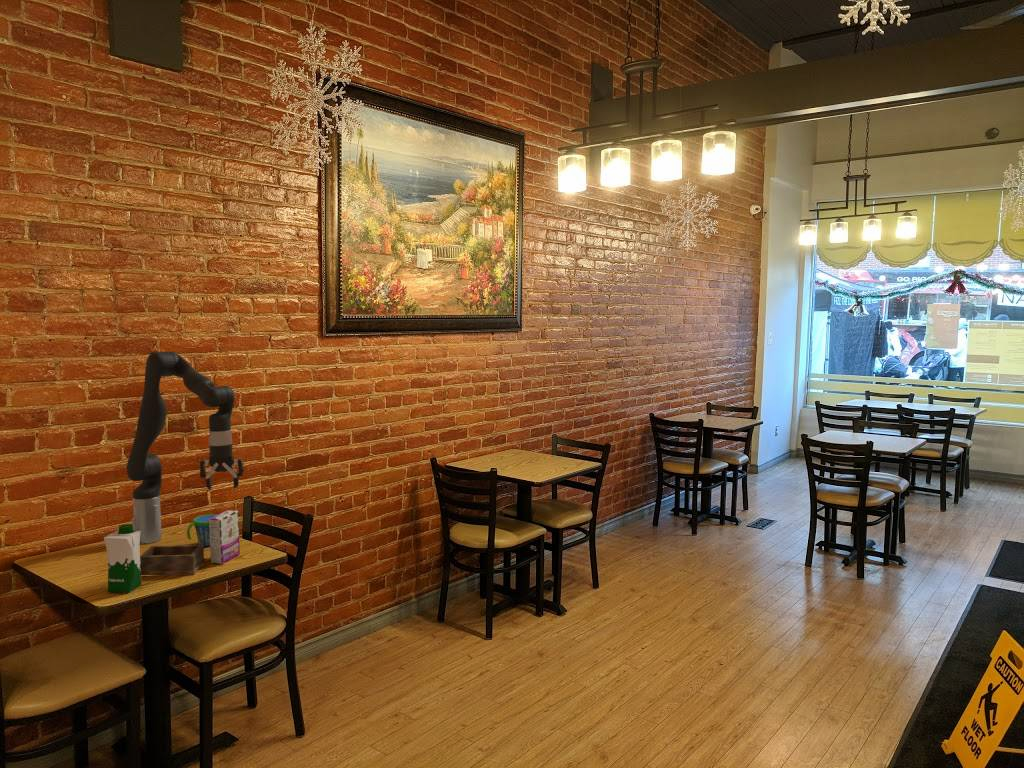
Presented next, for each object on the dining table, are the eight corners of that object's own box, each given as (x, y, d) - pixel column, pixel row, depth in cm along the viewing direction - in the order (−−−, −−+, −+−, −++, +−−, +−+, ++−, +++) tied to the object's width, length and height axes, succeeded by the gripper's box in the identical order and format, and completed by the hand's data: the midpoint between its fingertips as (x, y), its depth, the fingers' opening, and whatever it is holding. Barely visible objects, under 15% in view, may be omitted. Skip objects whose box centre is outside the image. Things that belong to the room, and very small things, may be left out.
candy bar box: (228, 553, 267) (226, 509, 265) (240, 554, 266) (239, 510, 264) (209, 563, 256) (208, 518, 254) (222, 564, 255) (220, 519, 253)
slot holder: (138, 576, 243) (137, 557, 242) (151, 563, 255) (151, 545, 254) (194, 574, 245) (193, 555, 244) (205, 562, 257) (204, 544, 256)
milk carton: (145, 584, 237) (143, 524, 234) (129, 594, 228) (127, 532, 225) (119, 583, 237) (116, 523, 235) (102, 594, 228) (99, 531, 226)
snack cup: (191, 551, 268) (190, 524, 267) (184, 544, 276) (183, 518, 275) (234, 543, 277) (233, 517, 276) (226, 536, 286) (225, 511, 285)
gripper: (244, 440, 260) (246, 485, 261) (202, 441, 258) (204, 486, 259) (239, 444, 253) (241, 490, 254) (196, 445, 250) (198, 491, 252)
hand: (222, 488), depth 257 cm, fingers open, 8 cm apart
